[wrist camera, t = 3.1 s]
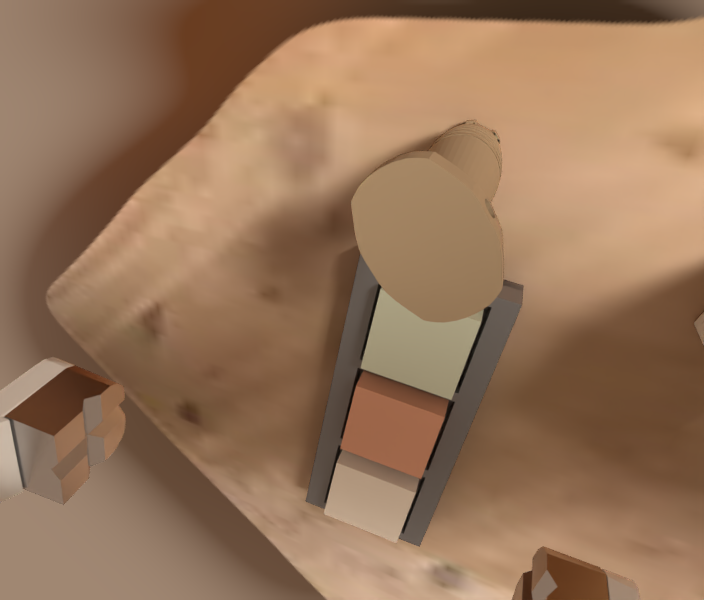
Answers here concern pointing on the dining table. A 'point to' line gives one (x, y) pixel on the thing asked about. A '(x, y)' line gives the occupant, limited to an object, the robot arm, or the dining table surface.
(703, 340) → the supplement box
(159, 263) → the dining table surface
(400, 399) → the key terracotta
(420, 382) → the key sage
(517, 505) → the dining table surface
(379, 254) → the handle
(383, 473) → the key offwhite
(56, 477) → the robot arm
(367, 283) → the keypad
